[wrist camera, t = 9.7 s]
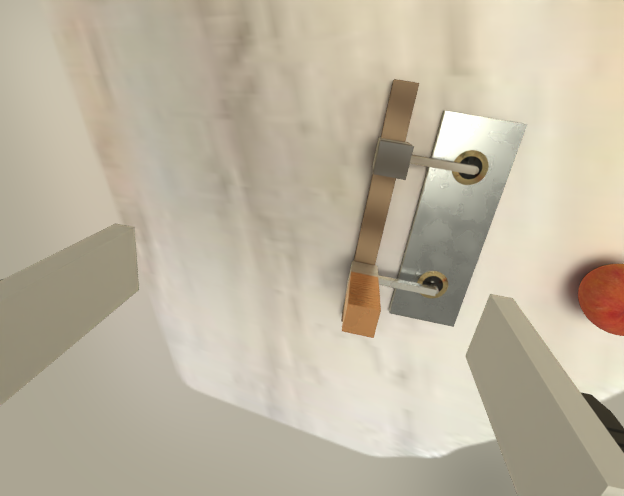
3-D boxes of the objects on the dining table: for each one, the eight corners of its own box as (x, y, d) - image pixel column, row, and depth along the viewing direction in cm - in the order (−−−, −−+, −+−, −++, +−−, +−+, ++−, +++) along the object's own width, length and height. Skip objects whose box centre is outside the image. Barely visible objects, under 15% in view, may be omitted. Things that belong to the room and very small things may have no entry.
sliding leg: (352, 258, 42) (347, 303, 32) (440, 275, 41) (463, 328, 31) (347, 280, 43) (341, 331, 33) (433, 298, 42) (453, 355, 32)
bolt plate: (443, 110, 36) (445, 110, 35) (523, 124, 36) (527, 124, 35) (388, 309, 45) (389, 313, 44) (451, 322, 45) (453, 327, 44)
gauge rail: (390, 80, 36) (395, 73, 30) (493, 96, 35) (522, 93, 29) (340, 312, 47) (335, 344, 40) (419, 329, 46) (427, 364, 39)
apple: (650, 262, 39) (717, 297, 31) (613, 317, 42) (666, 361, 34) (583, 244, 39) (634, 275, 32) (551, 300, 42) (590, 340, 34)
